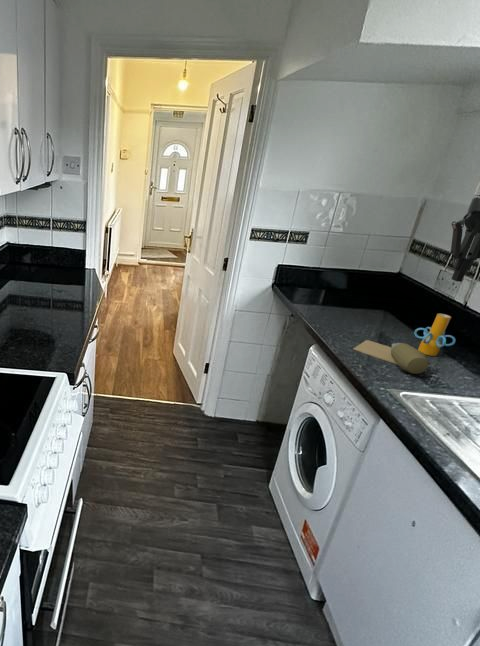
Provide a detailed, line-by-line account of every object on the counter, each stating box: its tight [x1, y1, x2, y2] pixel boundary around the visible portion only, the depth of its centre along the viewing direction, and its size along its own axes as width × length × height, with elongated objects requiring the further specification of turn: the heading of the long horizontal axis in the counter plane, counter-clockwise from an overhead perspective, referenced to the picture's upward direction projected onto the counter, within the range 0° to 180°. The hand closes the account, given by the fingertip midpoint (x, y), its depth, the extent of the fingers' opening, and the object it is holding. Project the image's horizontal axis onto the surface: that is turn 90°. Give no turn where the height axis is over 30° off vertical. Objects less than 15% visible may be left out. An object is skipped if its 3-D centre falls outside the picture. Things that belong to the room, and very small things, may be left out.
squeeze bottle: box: [390, 342, 429, 375], centre depth 142 cm, size 8×8×18 cm
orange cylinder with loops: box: [413, 313, 457, 357], centre depth 151 cm, size 12×10×15 cm
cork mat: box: [352, 339, 399, 366], centre depth 151 cm, size 18×14×1 cm
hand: (456, 280), depth 124 cm, fingers closed
